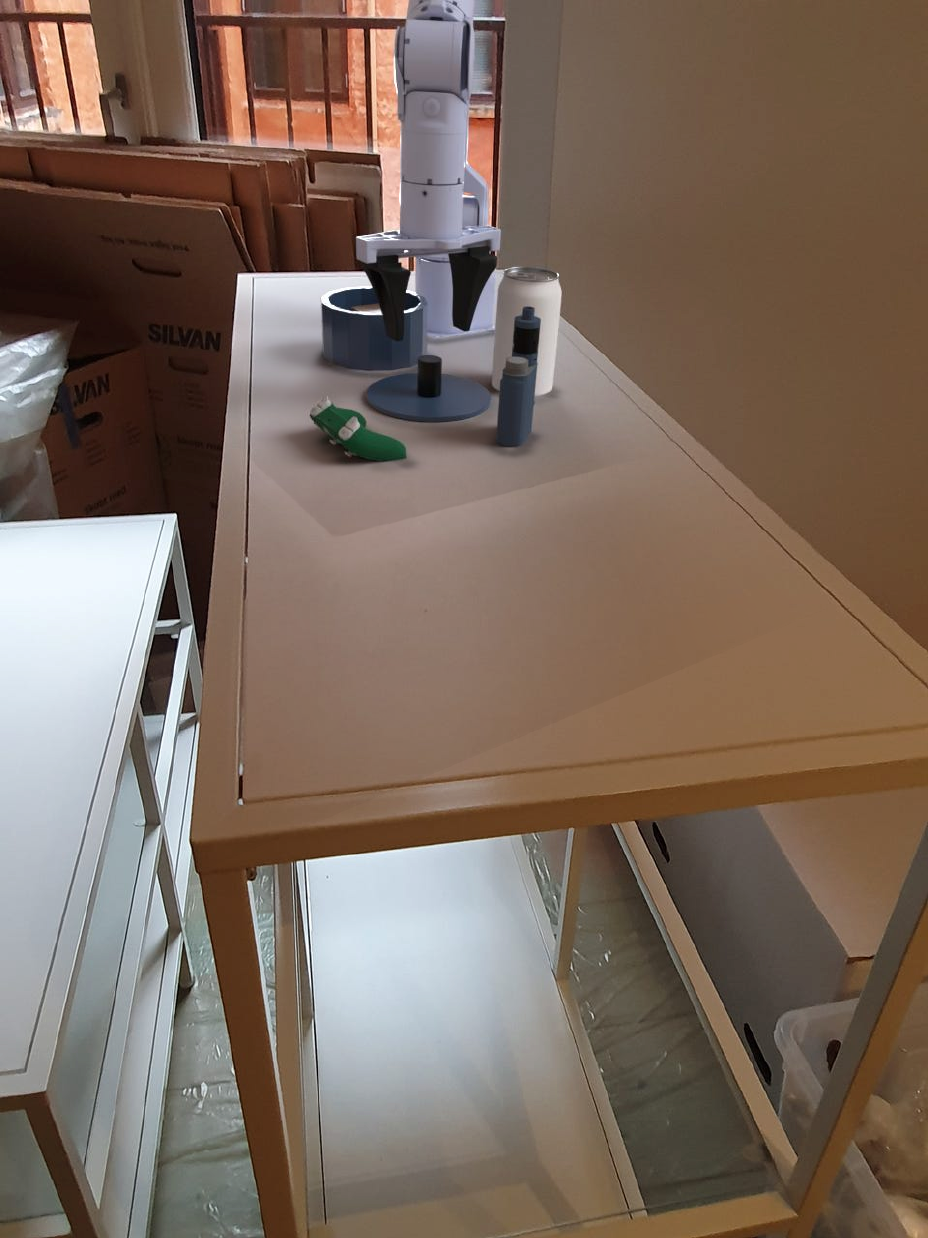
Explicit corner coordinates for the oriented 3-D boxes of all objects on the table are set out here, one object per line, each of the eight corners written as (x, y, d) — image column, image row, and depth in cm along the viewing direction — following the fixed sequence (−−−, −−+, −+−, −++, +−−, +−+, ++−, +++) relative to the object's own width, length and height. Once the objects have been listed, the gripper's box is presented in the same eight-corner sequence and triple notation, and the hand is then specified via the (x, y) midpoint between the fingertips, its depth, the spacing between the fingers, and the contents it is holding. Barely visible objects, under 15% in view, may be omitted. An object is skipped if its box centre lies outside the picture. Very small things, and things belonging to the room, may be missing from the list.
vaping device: (534, 434, 87) (546, 306, 81) (519, 454, 83) (530, 321, 76) (508, 429, 88) (518, 302, 81) (492, 449, 84) (501, 317, 77)
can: (547, 404, 94) (559, 283, 88) (486, 396, 95) (493, 277, 88) (555, 383, 99) (567, 268, 93) (496, 377, 100) (504, 262, 94)
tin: (393, 337, 111) (394, 282, 107) (445, 366, 103) (447, 307, 99) (306, 350, 105) (303, 292, 101) (353, 381, 97) (351, 320, 94)
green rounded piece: (339, 449, 87) (295, 415, 82) (364, 417, 86) (321, 381, 82) (387, 487, 80) (342, 451, 76) (414, 452, 80) (370, 415, 76)
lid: (447, 376, 100) (449, 332, 97) (515, 414, 91) (518, 368, 89) (344, 394, 94) (343, 348, 91) (406, 436, 85) (407, 388, 83)
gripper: (382, 191, 75) (383, 354, 83) (523, 183, 82) (512, 334, 90) (343, 178, 80) (347, 333, 88) (480, 171, 87) (473, 316, 95)
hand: (428, 333), depth 89 cm, fingers open, 7 cm apart
